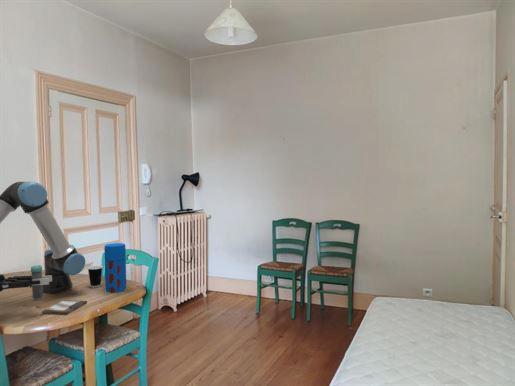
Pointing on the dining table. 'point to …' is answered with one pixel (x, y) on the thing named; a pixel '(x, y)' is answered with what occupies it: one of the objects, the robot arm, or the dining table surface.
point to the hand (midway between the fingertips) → (50, 279)
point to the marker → (37, 289)
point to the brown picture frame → (64, 307)
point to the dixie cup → (95, 275)
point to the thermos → (115, 267)
